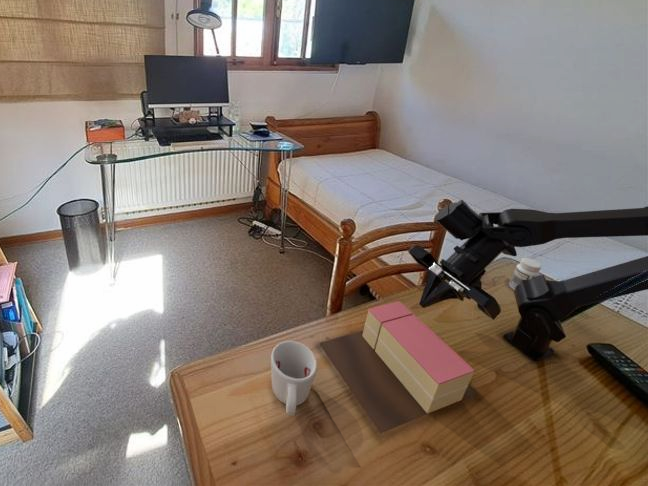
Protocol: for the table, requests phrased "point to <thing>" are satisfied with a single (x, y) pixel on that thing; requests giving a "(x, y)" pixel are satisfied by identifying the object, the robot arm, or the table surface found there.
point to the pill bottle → (525, 271)
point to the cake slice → (382, 320)
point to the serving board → (374, 382)
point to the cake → (423, 363)
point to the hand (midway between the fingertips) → (421, 306)
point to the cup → (292, 373)
